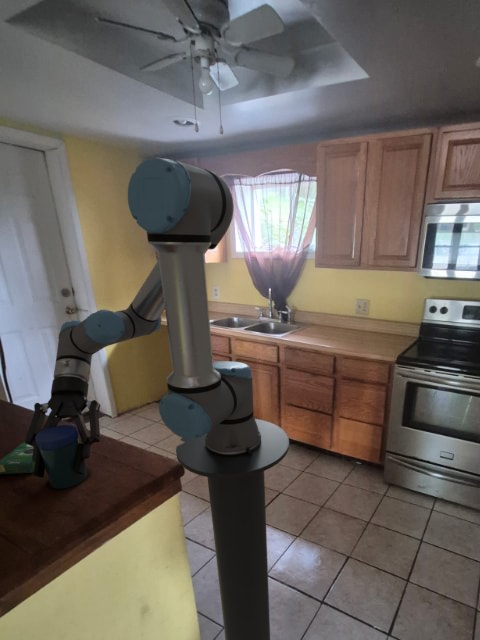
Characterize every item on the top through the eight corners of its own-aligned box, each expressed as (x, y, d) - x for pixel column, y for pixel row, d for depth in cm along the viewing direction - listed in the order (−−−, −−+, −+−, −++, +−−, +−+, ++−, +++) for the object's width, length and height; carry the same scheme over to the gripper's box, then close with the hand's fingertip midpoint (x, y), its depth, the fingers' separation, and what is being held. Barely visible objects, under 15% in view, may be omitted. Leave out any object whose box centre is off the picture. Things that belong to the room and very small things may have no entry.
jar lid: (85, 438, 83) (83, 431, 83) (47, 453, 78) (44, 445, 77) (68, 429, 88) (66, 421, 87) (30, 442, 82) (28, 435, 81)
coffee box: (28, 447, 100) (-3, 475, 87) (25, 438, 98) (-7, 465, 86) (60, 446, 100) (33, 473, 88) (57, 436, 99) (30, 463, 87)
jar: (93, 476, 87) (82, 433, 83) (59, 492, 82) (45, 447, 77) (77, 465, 91) (66, 424, 87) (44, 480, 86) (30, 437, 81)
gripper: (16, 376, 85) (-3, 475, 77) (110, 372, 88) (101, 467, 80) (33, 389, 92) (18, 481, 84) (120, 385, 95) (113, 473, 87)
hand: (59, 474), depth 82 cm, fingers closed on jar, 8 cm apart
